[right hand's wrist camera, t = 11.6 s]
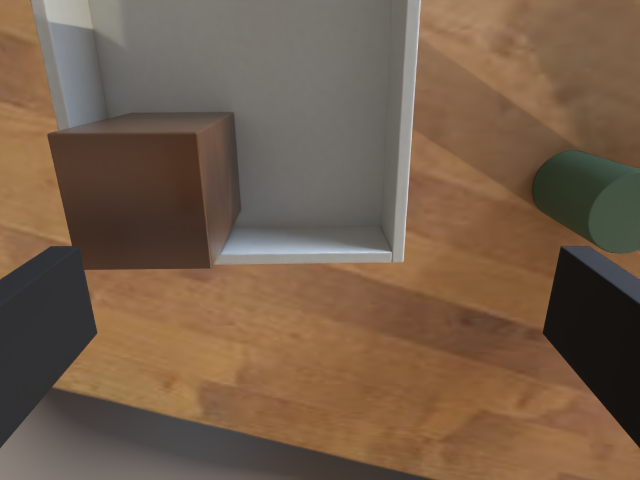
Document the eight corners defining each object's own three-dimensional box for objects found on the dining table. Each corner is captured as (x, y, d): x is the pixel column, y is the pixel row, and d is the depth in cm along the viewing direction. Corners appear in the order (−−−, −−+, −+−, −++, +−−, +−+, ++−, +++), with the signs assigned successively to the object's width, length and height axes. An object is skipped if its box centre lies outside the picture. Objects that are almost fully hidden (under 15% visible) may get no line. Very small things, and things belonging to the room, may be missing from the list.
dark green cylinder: (567, 136, 35) (636, 154, 28) (615, 176, 36) (693, 204, 29) (517, 192, 37) (570, 224, 29) (564, 229, 38) (626, 268, 30)
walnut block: (130, 112, 24) (45, 133, 16) (234, 111, 24) (197, 132, 16) (145, 211, 26) (77, 270, 18) (241, 210, 26) (211, 269, 18)
